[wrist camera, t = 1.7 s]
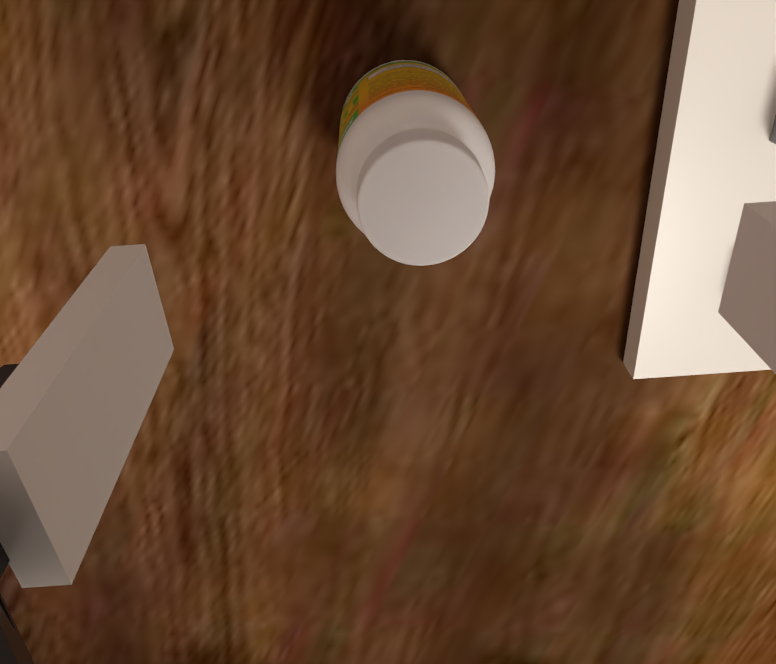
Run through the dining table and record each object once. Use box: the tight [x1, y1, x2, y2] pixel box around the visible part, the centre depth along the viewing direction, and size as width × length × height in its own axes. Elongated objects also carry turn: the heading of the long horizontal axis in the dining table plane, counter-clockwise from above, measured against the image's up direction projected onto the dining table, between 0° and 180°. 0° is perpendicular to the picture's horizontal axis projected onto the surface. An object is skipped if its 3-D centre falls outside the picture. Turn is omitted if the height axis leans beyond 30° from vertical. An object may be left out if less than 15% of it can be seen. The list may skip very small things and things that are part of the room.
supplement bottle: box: [336, 60, 495, 266], centre depth 24 cm, size 5×5×10 cm
